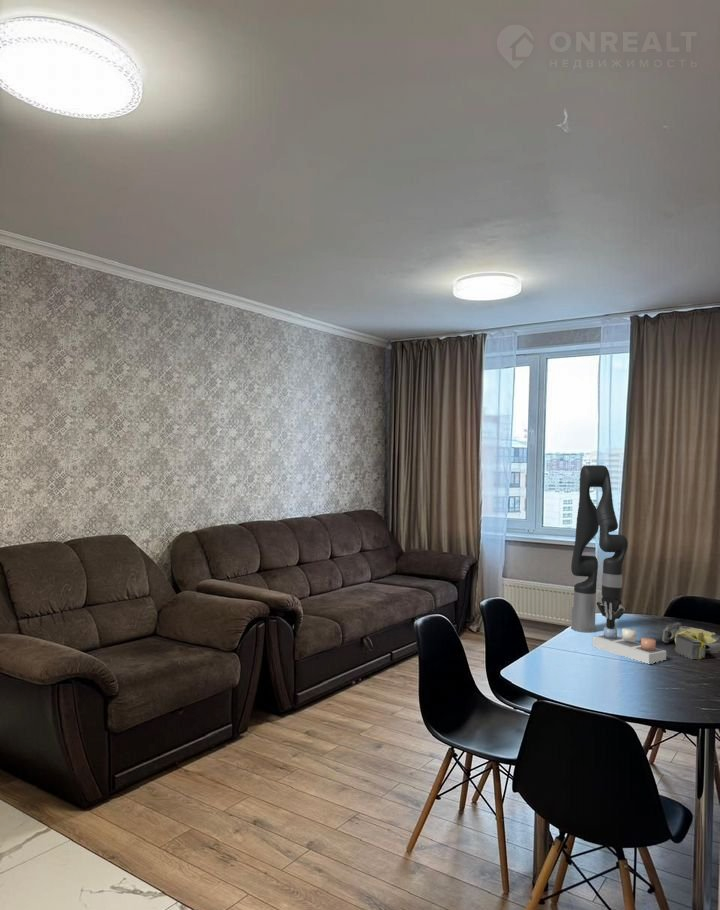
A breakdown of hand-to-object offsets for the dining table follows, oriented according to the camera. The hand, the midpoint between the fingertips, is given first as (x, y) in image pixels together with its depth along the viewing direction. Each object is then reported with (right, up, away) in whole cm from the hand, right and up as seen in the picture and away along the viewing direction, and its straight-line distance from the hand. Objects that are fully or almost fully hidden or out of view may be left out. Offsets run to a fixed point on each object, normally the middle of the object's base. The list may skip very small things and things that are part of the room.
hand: (610, 628), depth 255 cm
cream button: (+4, -2, -7) cm, 9 cm away
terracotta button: (+8, -4, -15) cm, 17 cm away
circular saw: (+21, -3, +10) cm, 24 cm away
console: (+4, -8, -7) cm, 11 cm away
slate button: (0, -4, 0) cm, 4 cm away
